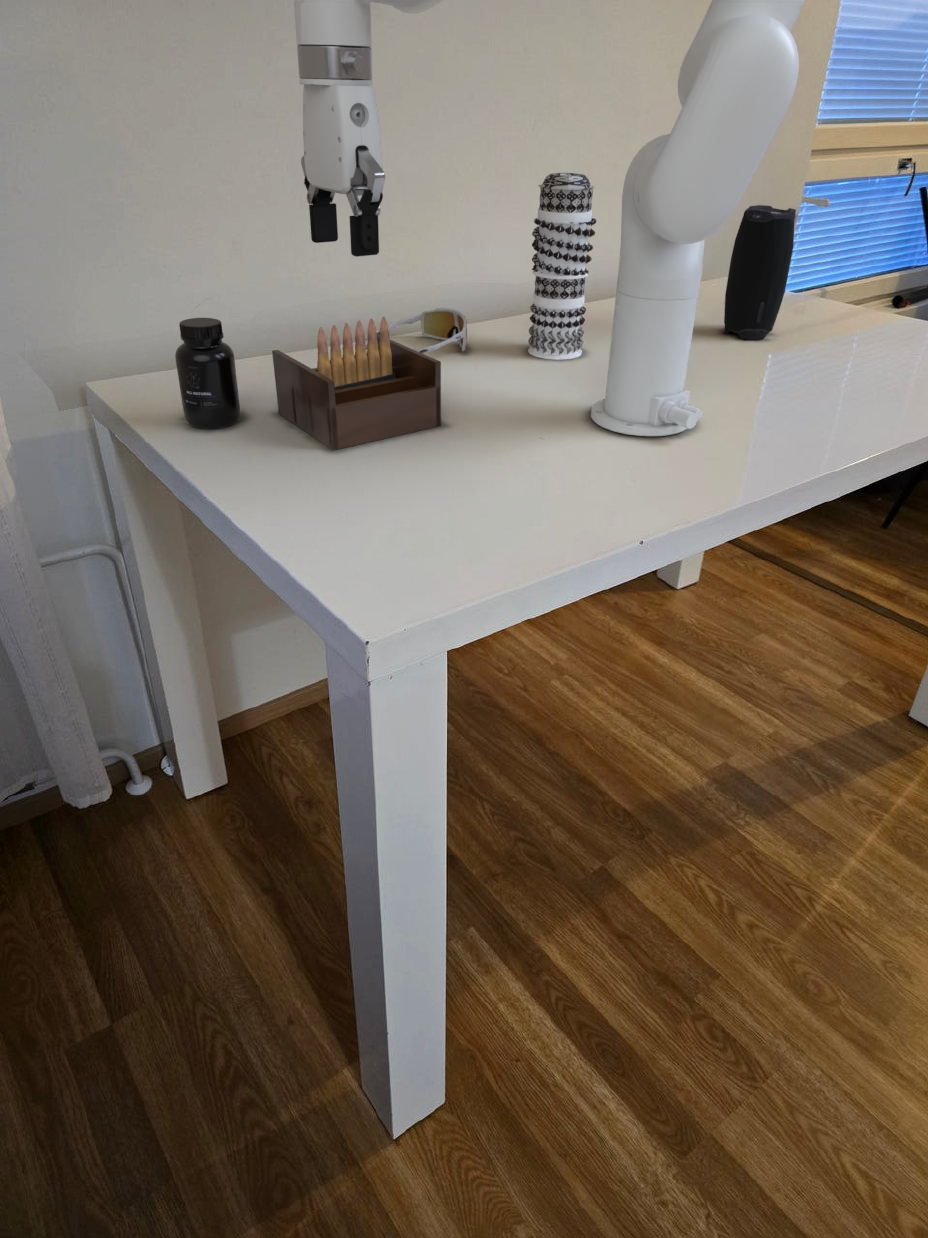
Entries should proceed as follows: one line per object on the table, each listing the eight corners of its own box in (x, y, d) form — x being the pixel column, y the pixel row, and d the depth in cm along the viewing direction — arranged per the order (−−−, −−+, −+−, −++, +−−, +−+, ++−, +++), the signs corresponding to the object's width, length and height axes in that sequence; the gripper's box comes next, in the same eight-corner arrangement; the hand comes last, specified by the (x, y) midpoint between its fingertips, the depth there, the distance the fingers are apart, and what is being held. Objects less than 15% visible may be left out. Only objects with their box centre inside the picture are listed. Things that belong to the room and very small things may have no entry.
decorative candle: (587, 360, 130) (604, 178, 116) (527, 359, 130) (537, 176, 116) (581, 344, 137) (596, 171, 124) (524, 343, 137) (533, 170, 124)
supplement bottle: (192, 433, 102) (175, 331, 95) (180, 416, 107) (163, 318, 100) (248, 425, 104) (235, 325, 98) (234, 408, 109) (221, 312, 103)
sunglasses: (486, 351, 133) (483, 319, 130) (405, 379, 127) (400, 347, 124) (437, 331, 143) (433, 301, 140) (360, 357, 137) (354, 326, 134)
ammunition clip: (326, 430, 103) (318, 330, 96) (318, 426, 104) (309, 326, 98) (397, 413, 109) (394, 316, 102) (389, 409, 110) (385, 313, 103)
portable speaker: (720, 325, 149) (742, 203, 138) (776, 331, 146) (802, 206, 136) (716, 337, 142) (738, 209, 132) (774, 343, 140) (801, 213, 129)
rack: (441, 425, 105) (441, 361, 101) (333, 450, 98) (327, 381, 93) (380, 393, 115) (378, 333, 111) (278, 413, 108) (271, 350, 104)
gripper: (410, 70, 83) (412, 257, 92) (330, 68, 95) (338, 234, 104) (342, 68, 79) (351, 263, 88) (267, 66, 91) (282, 239, 100)
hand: (344, 247), depth 96 cm, fingers open, 9 cm apart
